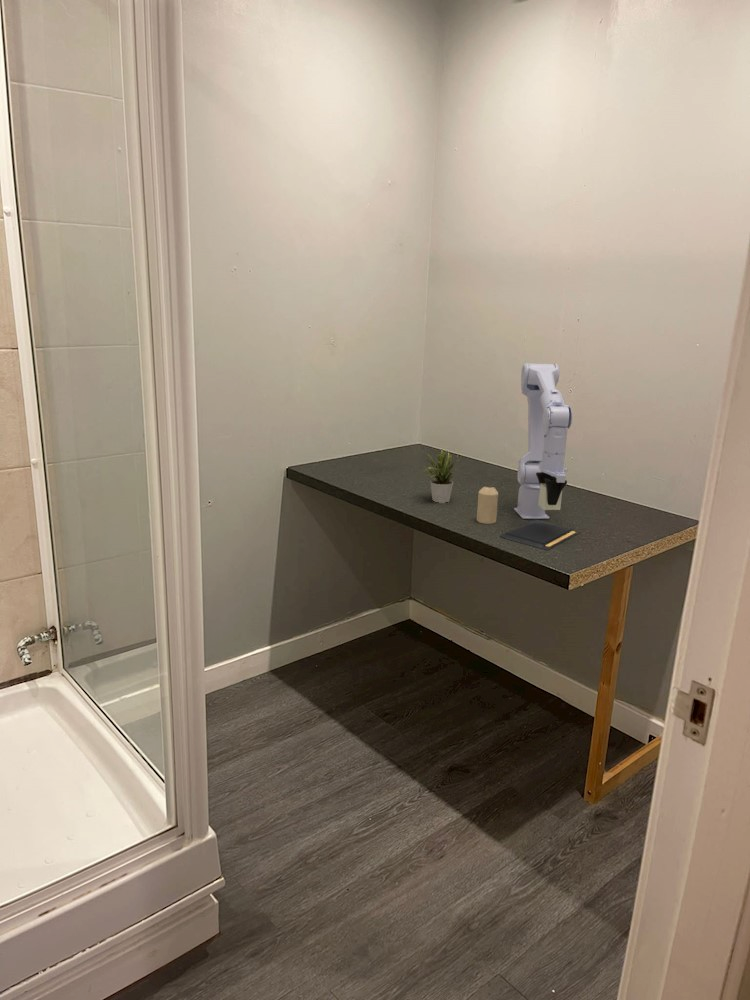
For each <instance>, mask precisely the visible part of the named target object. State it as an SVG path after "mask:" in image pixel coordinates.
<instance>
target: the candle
mask: <svg viewBox="0 0 750 1000" xmlns="http://www.w3.org/2000/svg"><path fill="white" fill-rule="evenodd" d="M477 495H478V497H477V512H476V521H477V522H478V523H480V524H483V525H484V524H485V525H492V524H493V525H494V524H495V523H496V522H497V517H498V516H497V514H498V503H499V502H498V501H499V492H498V490H497V489H496V487H492V486H490V487H488V486H483V487H482V488H481V489H479V490H478V494H477Z"/></svg>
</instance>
